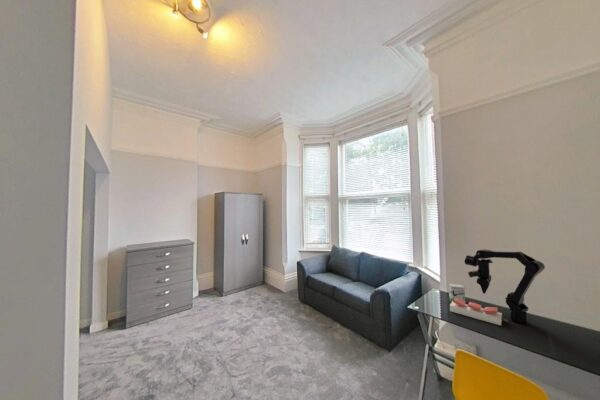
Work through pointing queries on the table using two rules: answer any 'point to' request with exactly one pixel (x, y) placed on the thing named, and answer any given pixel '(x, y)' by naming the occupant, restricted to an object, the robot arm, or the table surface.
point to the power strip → (477, 313)
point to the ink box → (456, 292)
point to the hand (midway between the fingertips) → (484, 291)
